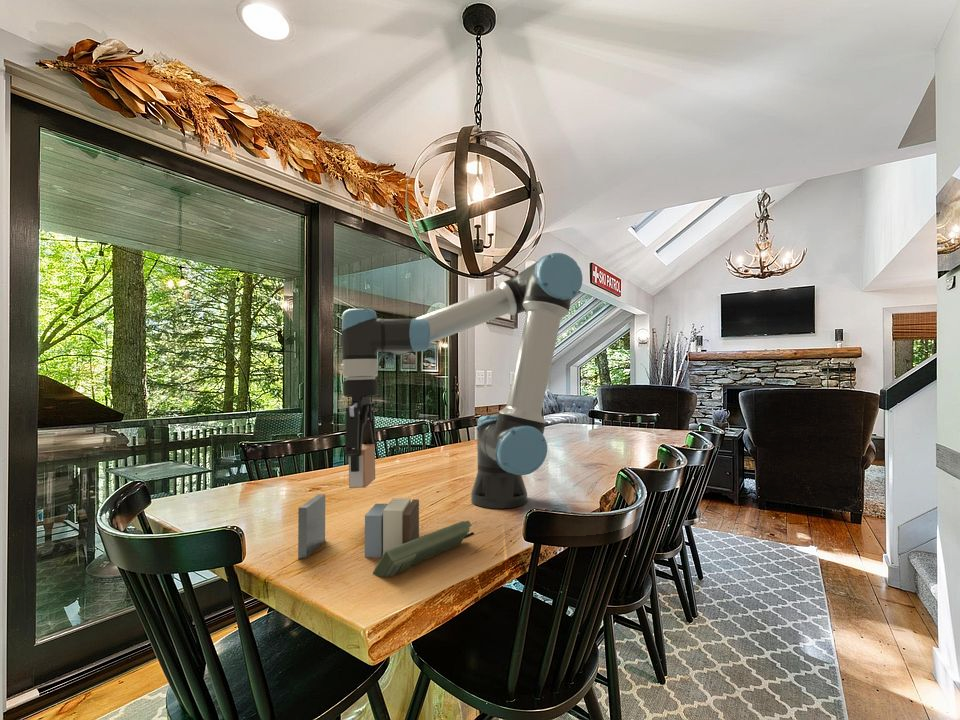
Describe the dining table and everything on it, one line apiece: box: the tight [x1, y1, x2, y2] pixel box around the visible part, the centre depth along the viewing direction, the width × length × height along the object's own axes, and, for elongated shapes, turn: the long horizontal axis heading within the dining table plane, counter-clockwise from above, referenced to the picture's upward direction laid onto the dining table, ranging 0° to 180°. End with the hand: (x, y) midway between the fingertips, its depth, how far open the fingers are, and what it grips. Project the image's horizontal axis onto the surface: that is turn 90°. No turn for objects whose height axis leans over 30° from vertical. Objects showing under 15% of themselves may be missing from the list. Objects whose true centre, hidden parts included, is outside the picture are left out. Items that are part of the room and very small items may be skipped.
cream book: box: [382, 497, 412, 556], centre depth 84 cm, size 4×8×8 cm, turn 178°
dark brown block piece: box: [403, 498, 420, 544], centre depth 85 cm, size 21×10×9 cm, turn 88°
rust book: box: [348, 444, 376, 489], centre depth 99 cm, size 4×8×8 cm, turn 179°
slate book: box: [364, 503, 389, 558], centre depth 84 cm, size 3×8×8 cm, turn 178°
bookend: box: [297, 493, 326, 559], centre depth 85 cm, size 2×9×9 cm, turn 178°
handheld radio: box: [372, 520, 476, 578], centre depth 82 cm, size 7×3×25 cm
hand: (362, 481), depth 99 cm, fingers closed on rust book, 8 cm apart
